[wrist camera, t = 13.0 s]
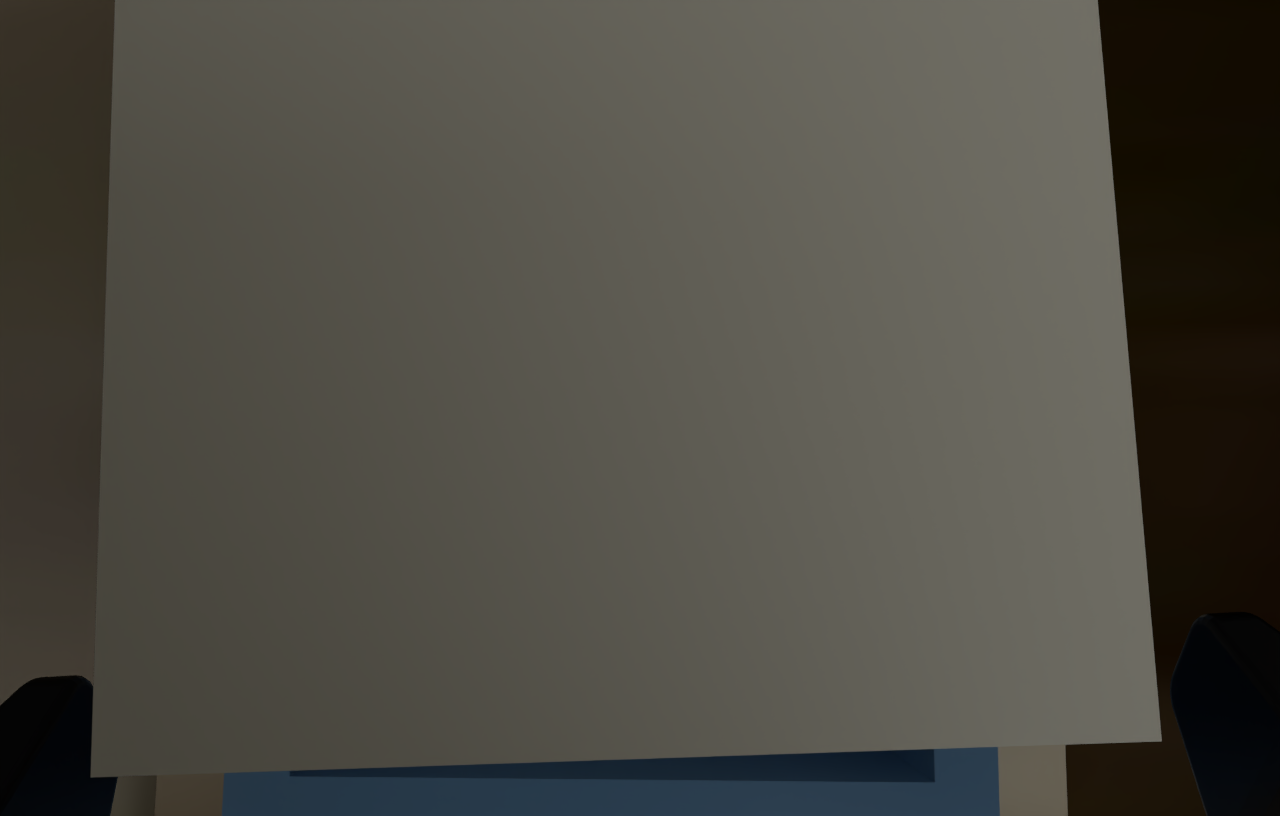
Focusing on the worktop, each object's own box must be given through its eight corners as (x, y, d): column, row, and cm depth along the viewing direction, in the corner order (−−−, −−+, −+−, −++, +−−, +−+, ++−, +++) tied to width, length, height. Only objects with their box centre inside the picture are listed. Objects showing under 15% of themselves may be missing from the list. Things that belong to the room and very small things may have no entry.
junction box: (925, 791, 17) (1000, 849, 14) (300, 785, 17) (220, 843, 14) (913, 190, 19) (980, 107, 15) (330, 179, 18) (263, 93, 15)
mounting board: (1056, 1189, 18) (1082, 1227, 17) (156, 1185, 17) (127, 1223, 16) (1013, -121, 20) (1033, -155, 19) (238, -137, 20) (218, -173, 19)
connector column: (755, 600, 17) (1163, 740, 4) (492, 608, 17) (91, 775, 4) (744, 341, 18) (1077, -234, 5) (488, 348, 18) (122, -218, 5)
